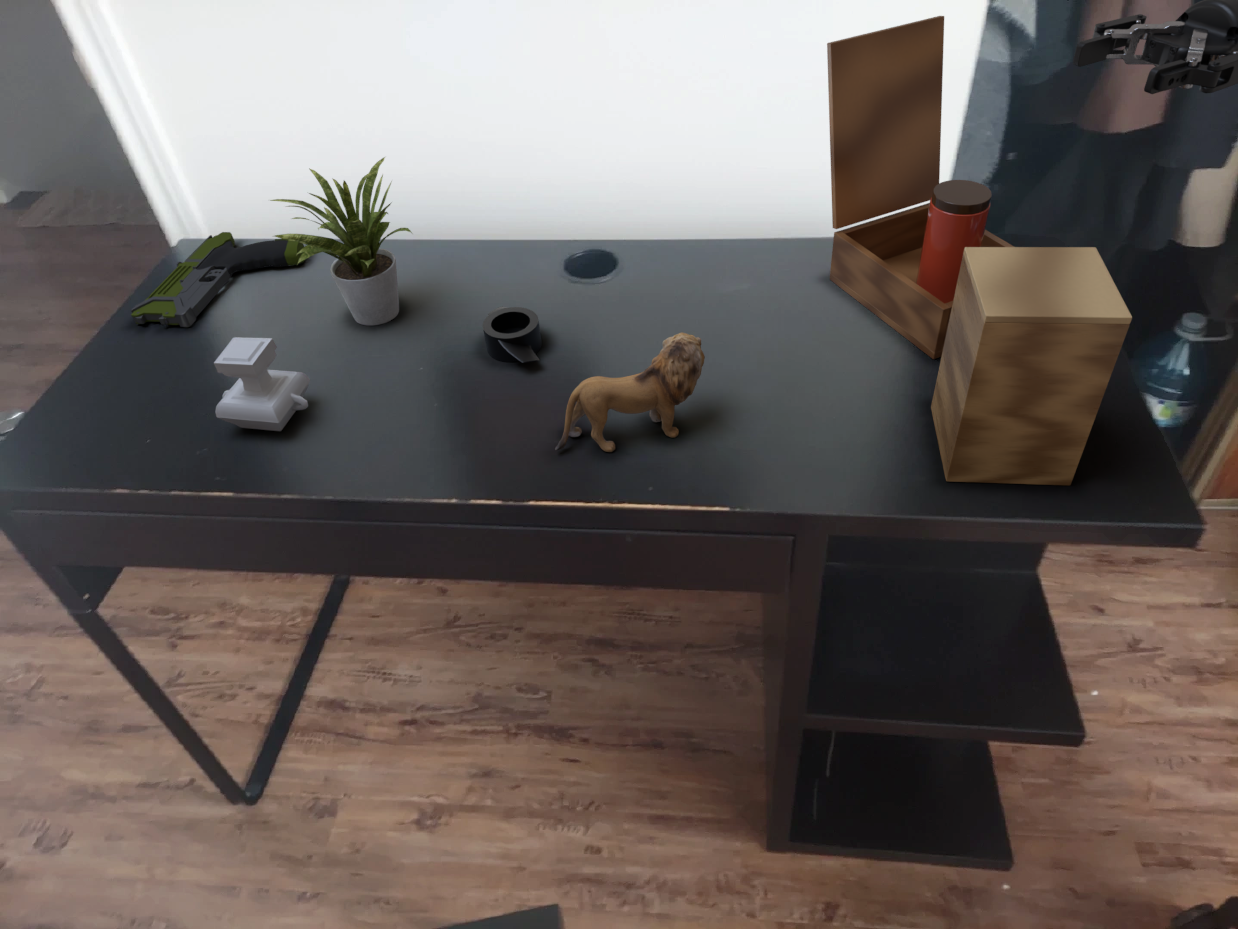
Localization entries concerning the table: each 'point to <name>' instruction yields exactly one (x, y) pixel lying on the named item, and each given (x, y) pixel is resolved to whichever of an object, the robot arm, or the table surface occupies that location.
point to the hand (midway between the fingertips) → (1112, 67)
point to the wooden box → (894, 275)
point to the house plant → (355, 249)
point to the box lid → (885, 119)
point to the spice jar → (951, 234)
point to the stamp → (258, 386)
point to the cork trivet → (1044, 285)
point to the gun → (209, 277)
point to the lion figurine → (638, 391)
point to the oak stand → (1018, 394)
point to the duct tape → (512, 334)
